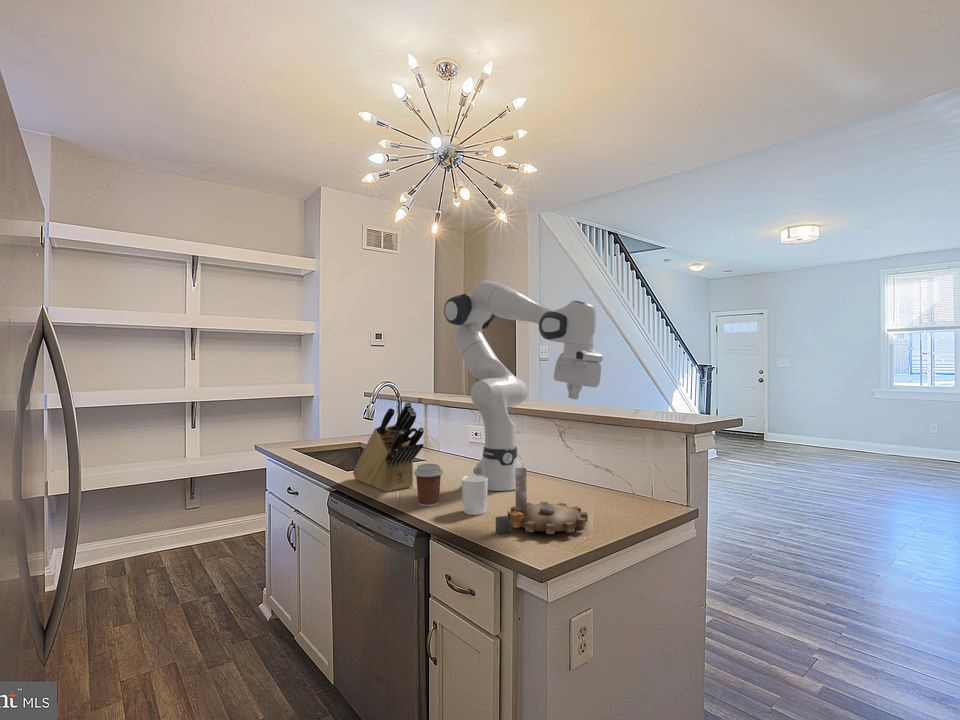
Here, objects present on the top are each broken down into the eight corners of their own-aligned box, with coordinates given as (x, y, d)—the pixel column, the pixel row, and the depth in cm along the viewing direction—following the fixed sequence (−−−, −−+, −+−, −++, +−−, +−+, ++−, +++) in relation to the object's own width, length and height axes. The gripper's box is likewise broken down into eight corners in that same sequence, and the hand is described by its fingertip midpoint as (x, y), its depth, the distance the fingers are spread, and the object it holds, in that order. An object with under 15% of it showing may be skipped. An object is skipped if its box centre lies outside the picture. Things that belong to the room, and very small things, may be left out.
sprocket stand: (490, 528, 136) (490, 514, 136) (552, 519, 144) (551, 505, 144) (504, 538, 129) (503, 522, 129) (567, 528, 136) (567, 513, 136)
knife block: (398, 499, 167) (398, 404, 167) (352, 479, 194) (351, 398, 194) (427, 493, 174) (426, 402, 174) (378, 475, 201) (378, 397, 201)
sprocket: (507, 533, 128) (507, 478, 128) (507, 508, 150) (506, 460, 150) (593, 534, 127) (593, 478, 127) (581, 508, 149) (580, 461, 149)
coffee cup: (409, 502, 162) (408, 465, 162) (434, 498, 167) (433, 461, 167) (422, 509, 154) (422, 470, 154) (448, 504, 160) (448, 466, 160)
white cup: (458, 509, 154) (458, 476, 154) (482, 506, 157) (482, 474, 157) (466, 517, 147) (466, 482, 147) (492, 514, 149) (491, 480, 149)
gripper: (551, 351, 164) (546, 394, 164) (588, 354, 145) (583, 402, 146) (567, 353, 167) (563, 395, 167) (606, 356, 148) (601, 403, 148)
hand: (573, 398), depth 156 cm, fingers closed
